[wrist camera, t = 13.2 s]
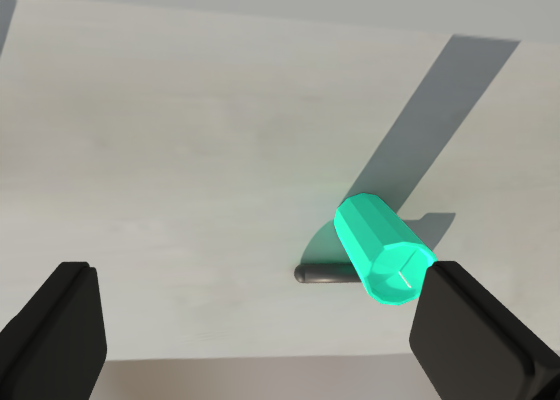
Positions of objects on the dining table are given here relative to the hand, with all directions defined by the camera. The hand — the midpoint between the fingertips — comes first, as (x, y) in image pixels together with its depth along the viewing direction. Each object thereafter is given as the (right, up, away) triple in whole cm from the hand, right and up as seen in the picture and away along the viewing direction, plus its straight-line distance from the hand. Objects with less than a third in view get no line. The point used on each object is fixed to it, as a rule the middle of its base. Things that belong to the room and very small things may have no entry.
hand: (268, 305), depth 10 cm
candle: (+9, +1, +28) cm, 29 cm away
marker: (+9, -5, +30) cm, 31 cm away
